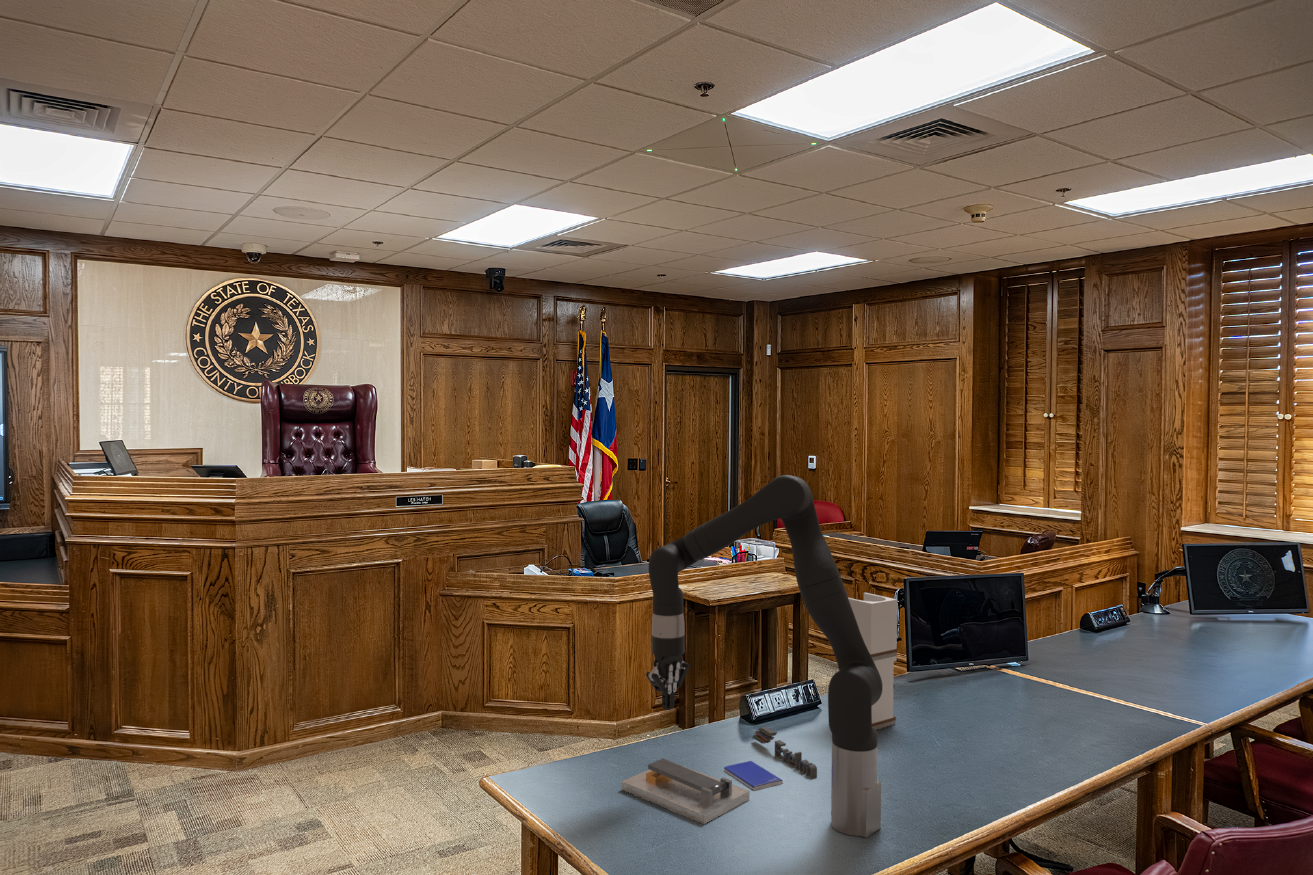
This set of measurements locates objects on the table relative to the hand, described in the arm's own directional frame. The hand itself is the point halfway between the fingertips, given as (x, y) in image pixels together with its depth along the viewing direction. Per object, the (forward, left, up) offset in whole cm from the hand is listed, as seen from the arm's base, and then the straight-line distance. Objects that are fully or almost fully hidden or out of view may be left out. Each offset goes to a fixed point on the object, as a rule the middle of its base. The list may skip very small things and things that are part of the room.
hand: (668, 708), depth 189 cm
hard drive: (-10, -19, -19) cm, 29 cm away
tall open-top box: (-12, -71, -19) cm, 75 cm away
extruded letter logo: (-9, -33, -19) cm, 39 cm away
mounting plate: (-5, 0, -18) cm, 19 cm away
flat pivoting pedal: (-5, 0, -15) cm, 16 cm away
